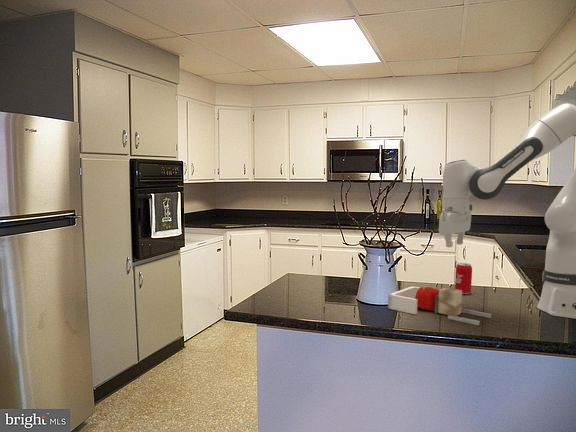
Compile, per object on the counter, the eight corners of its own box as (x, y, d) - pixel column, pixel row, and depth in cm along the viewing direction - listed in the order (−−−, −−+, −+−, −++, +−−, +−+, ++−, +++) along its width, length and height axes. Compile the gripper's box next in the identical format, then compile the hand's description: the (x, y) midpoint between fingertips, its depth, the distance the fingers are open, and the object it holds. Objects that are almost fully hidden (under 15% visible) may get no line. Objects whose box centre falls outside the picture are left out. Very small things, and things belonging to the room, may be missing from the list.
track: (491, 317, 161) (491, 314, 161) (478, 325, 152) (478, 321, 152) (461, 311, 168) (461, 308, 167) (447, 318, 159) (447, 315, 158)
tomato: (426, 304, 176) (427, 284, 175) (446, 310, 168) (447, 289, 168) (408, 307, 171) (409, 287, 171) (427, 314, 164) (428, 292, 163)
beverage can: (457, 290, 199) (459, 262, 198) (473, 293, 195) (474, 264, 194) (452, 293, 194) (453, 264, 193) (467, 295, 190) (469, 266, 189)
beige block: (462, 312, 165) (463, 289, 164) (453, 317, 160) (455, 293, 159) (442, 308, 169) (444, 286, 169) (434, 312, 164) (435, 289, 163)
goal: (438, 304, 177) (438, 290, 176) (415, 314, 163) (415, 300, 162) (411, 298, 183) (412, 286, 183) (387, 308, 170) (388, 294, 169)
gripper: (452, 208, 158) (451, 249, 159) (474, 205, 174) (473, 243, 175) (434, 207, 162) (433, 248, 163) (457, 205, 178) (456, 242, 179)
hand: (454, 245), depth 169 cm, fingers open, 8 cm apart
